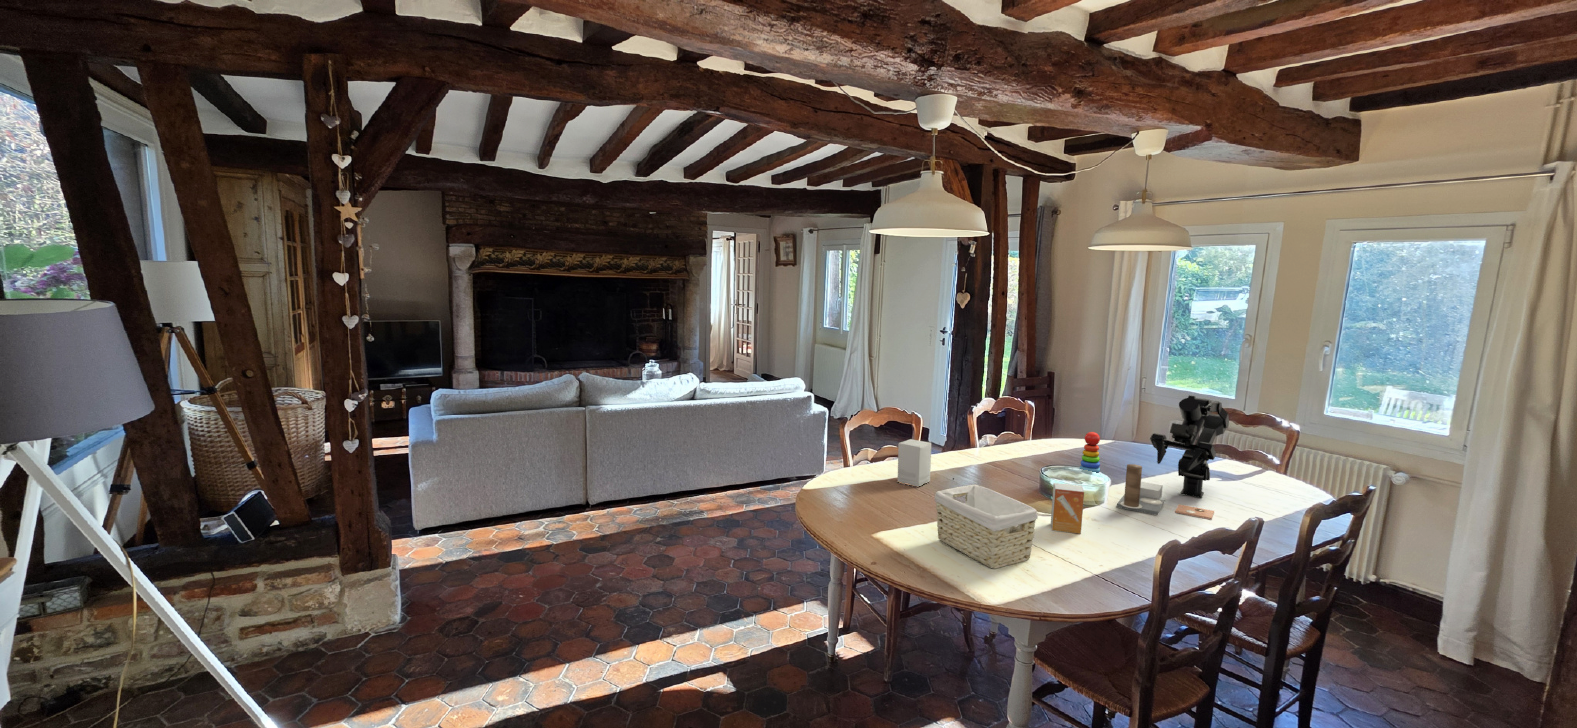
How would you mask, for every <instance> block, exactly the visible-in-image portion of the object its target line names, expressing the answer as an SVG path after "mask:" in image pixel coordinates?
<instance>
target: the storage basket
mask: <svg viewBox="0 0 1577 728" xmlns="http://www.w3.org/2000/svg"><path fill="white" fill-rule="evenodd" d="M960 497H964V499H965V502H961V501H959V500H956V499H954V498H960ZM934 501H935V502H936V503H935V504H936V507H935V508H936V515H937V516H936V520H937V521H936V526H937V538H938V540H939V541H941V542H942V543H944V544H946V545H948V546H949V547H952V548H953V549H956V550H957V551H960V552H961V553H962V554H965V555H966V556H968V557H969V558H970V559H972V560H975V561H977V562H979V563H981V564H982V565H984V566H986V567H988V568H990V569H999V568H1002V567H1004V568H1005V567H1007V566H1011V565H1014V564H1015V565H1016V564H1019V563H1021V562H1023V563H1024V562H1026V561H1027V560H1029V559H1030V558H1031V553H1032V547H1033V546H1032V545H1034V544H1033V540H1034V538H1035V533H1034V532H1035V526H1036V521H1037V520H1038V517H1039V516H1038V513H1037V511H1038V510H1037V509H1036V508H1034V507H1033V506H1030V505H1029V504H1026V503H1023V502H1022V501H1019V500H1017V499H1015V498H1012V497H1009V496H1007V495H1005V494H1003V493H1000V492H997V491H995V490H993V489H991V488H987V487H984V486H982V485H977V484H970V485H964V486H963V485H962V486H957V487H952V488H947V489H943V490H938V491H936V492H935V495H934Z"/></svg>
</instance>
